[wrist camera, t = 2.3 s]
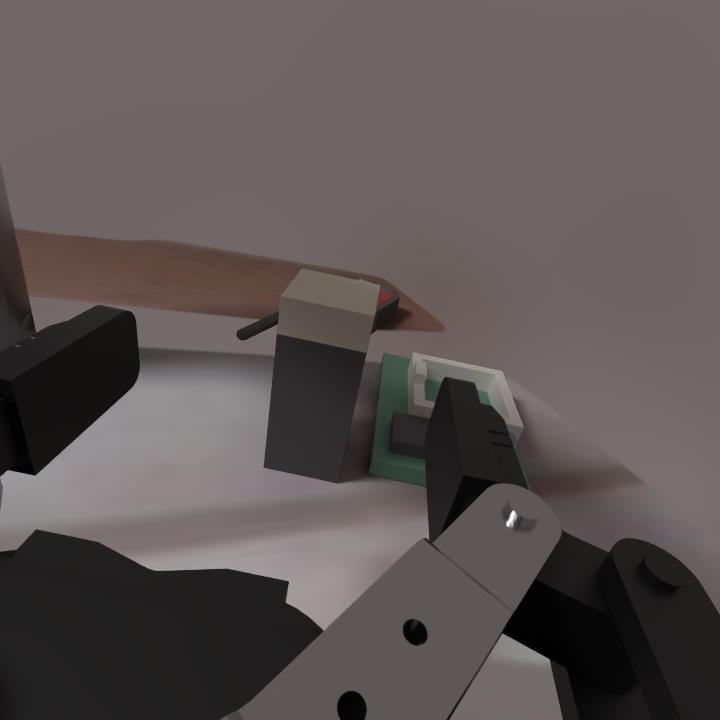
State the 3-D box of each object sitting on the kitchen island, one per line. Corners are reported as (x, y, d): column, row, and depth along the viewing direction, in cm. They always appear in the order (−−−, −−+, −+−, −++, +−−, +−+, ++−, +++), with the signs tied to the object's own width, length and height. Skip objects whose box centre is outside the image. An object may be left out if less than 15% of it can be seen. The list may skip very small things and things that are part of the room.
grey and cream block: (263, 467, 25) (280, 296, 20) (283, 421, 29) (302, 268, 24) (337, 483, 25) (374, 316, 20) (347, 435, 29) (380, 285, 24)
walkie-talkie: (339, 291, 54) (228, 345, 37) (344, 258, 51) (229, 299, 35) (401, 314, 51) (311, 383, 34) (410, 280, 49) (318, 336, 32)
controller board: (368, 473, 26) (381, 426, 24) (381, 364, 38) (390, 327, 37) (525, 507, 26) (550, 462, 24) (488, 387, 38) (502, 351, 37)
